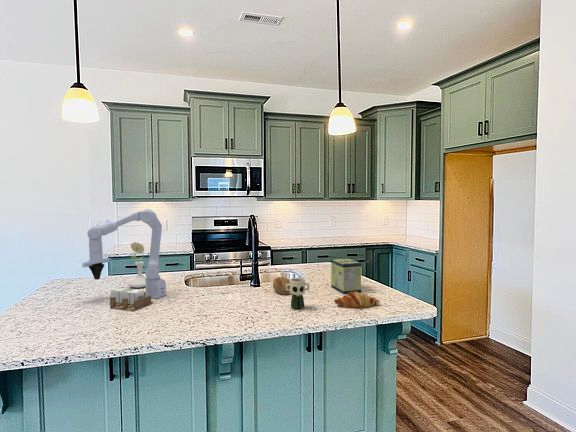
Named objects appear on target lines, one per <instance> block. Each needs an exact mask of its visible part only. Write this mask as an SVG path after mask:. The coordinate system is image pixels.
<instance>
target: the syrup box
mask: <svg viewBox="0 0 576 432" xmlns="http://www.w3.org/2000/svg"><path fill="white" fill-rule="evenodd" d="M144 292H145V290H144V289H138V288H125V287H116V288H114V289H111V290H110V293H109V294H110V297H116V304H117V303H122V299H123V298H128V305H130V304H134V301H136V300H138V299H141V298H143V297H144ZM110 297H109V298H110Z"/></svg>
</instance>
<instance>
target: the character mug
mask: <svg viewBox="0 0 576 432" xmlns="http://www.w3.org/2000/svg"><path fill="white" fill-rule="evenodd" d="M289 280H290V284H286V291H290V293H289V294H291V300H290V307H291V308H292V309H295V310H296V309H297V310H298V309H303V308H305V299H304V298H305V297H304V294H305V293H306V291H309V290H310V283H309V282H306V279H305V278H303V277H292V278H289ZM288 286H290V289H288Z"/></svg>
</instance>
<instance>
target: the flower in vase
mask: <svg viewBox="0 0 576 432" xmlns="http://www.w3.org/2000/svg"><path fill="white" fill-rule="evenodd" d="M130 249H131V250H132V251H133V252H134V253H135V254H134V255H131V257H130V259H132V260H136V261H135V262H134V264H135V265H136V267H137V276H135V278H133V279H132V280H131V281H130V282H129V285H128V286H129V287H132V288H134V289H138V288H144V287H145V288H146V280H145V278H146V276H144V274H143V266H144V263H145V261H142V260H141V259H143V256H142V257H139V258H137V256H136V255H137V254H143V253H144V252H145V246H144V245H143V244H141V243H140V242H136V241H133V242H131V243H130ZM139 260H141V261H139Z"/></svg>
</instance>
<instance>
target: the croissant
mask: <svg viewBox="0 0 576 432" xmlns="http://www.w3.org/2000/svg"><path fill="white" fill-rule="evenodd" d="M333 301H334V303H335V304H336V305H338V306H341V307H343V308H351V309H357V308H359V309H362V308H363V309H364V308H368V307H373V306H377V305H379V304H380V302H381V300H380V299H377V298H376V297H374V296H370V295H369V294H367V293H362V294H361V292H350V293H348V294H343V296H342V297H338V298H336V299H334V300H333Z"/></svg>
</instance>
